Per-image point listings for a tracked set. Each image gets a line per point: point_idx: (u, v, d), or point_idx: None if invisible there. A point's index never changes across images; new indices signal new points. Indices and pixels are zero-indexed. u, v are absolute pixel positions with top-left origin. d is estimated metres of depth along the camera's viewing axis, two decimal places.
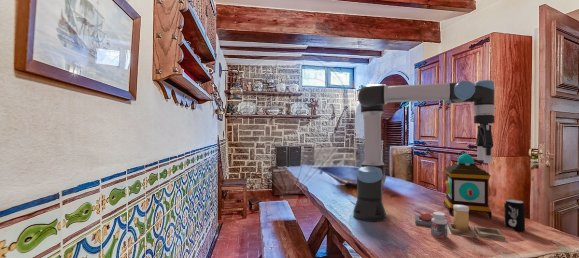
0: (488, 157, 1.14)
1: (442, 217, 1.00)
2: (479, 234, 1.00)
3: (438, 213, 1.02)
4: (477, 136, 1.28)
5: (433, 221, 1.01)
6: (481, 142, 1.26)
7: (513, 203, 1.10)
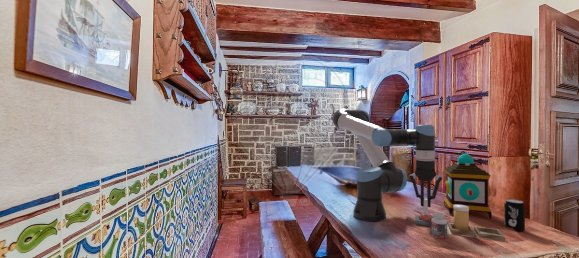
0: None
1: (442, 217, 1.00)
2: (479, 234, 1.00)
3: (438, 213, 1.02)
4: None
5: (433, 221, 1.01)
6: (427, 192, 1.16)
7: (513, 203, 1.10)
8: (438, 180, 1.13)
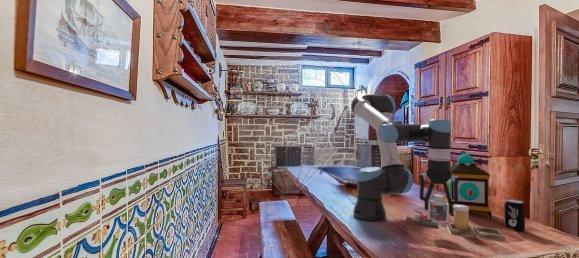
0: None
1: (441, 199, 1.00)
2: (479, 234, 1.00)
3: (437, 195, 1.02)
4: None
5: (432, 203, 1.01)
6: None
7: (513, 203, 1.10)
8: (455, 181, 0.99)
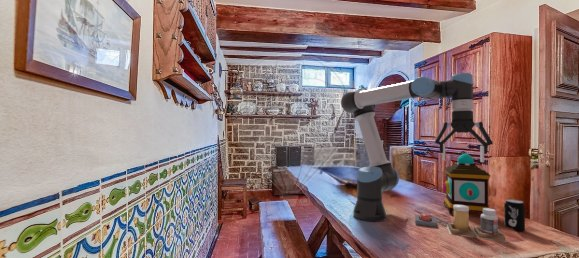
0: None
1: None
2: (479, 234, 1.00)
3: (489, 209, 1.02)
4: None
5: (495, 219, 1.00)
6: (479, 141, 1.09)
7: (513, 203, 1.10)
8: (480, 126, 1.08)
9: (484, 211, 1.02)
